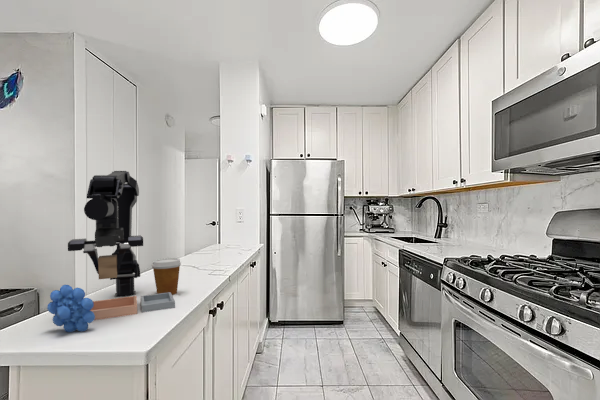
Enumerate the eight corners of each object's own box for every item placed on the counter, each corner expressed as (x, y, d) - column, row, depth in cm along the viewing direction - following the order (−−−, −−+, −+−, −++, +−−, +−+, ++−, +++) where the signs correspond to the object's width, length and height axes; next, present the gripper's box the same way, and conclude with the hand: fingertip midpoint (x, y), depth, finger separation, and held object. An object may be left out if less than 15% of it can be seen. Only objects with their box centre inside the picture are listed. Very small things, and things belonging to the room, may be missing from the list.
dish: (81, 312, 104) (81, 302, 104) (136, 305, 110) (136, 295, 110) (76, 324, 93) (76, 313, 93) (137, 315, 100) (137, 305, 100)
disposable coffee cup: (172, 299, 116) (171, 262, 116) (146, 298, 118) (145, 262, 118) (187, 291, 125) (186, 258, 125) (162, 291, 127) (162, 257, 127)
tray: (140, 303, 112) (140, 295, 112) (170, 299, 116) (170, 292, 116) (141, 314, 101) (141, 305, 101) (175, 309, 105) (174, 301, 105)
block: (99, 276, 103) (99, 255, 103) (117, 274, 105) (116, 254, 105) (98, 279, 99) (98, 258, 99) (116, 277, 101) (116, 256, 101)
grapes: (35, 340, 83) (34, 289, 83) (55, 329, 90) (54, 282, 90) (83, 339, 83) (82, 288, 83) (100, 329, 90) (99, 281, 90)
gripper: (63, 221, 90) (65, 282, 90) (143, 218, 98) (144, 274, 98) (70, 219, 100) (71, 274, 100) (142, 217, 109) (143, 267, 108)
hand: (108, 272), depth 102 cm, fingers closed on block, 4 cm apart
